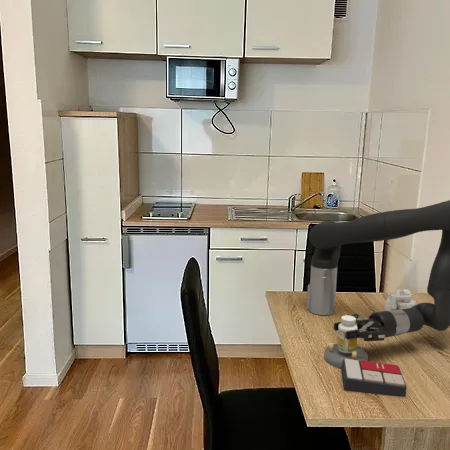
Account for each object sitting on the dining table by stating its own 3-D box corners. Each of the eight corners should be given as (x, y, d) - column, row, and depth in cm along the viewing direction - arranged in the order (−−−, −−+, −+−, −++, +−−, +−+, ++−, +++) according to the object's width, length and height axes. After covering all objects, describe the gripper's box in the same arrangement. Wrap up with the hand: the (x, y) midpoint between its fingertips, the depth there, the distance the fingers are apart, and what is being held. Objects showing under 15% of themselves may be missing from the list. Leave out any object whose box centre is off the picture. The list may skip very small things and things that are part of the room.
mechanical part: (415, 332, 155) (418, 298, 153) (379, 323, 162) (382, 290, 160) (424, 321, 164) (428, 289, 161) (390, 313, 171) (392, 282, 169)
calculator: (407, 385, 117) (345, 376, 119) (405, 400, 118) (343, 391, 120) (399, 363, 127) (342, 355, 130) (397, 378, 128) (341, 370, 131)
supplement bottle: (356, 346, 137) (359, 315, 135) (355, 355, 132) (357, 322, 130) (338, 344, 139) (339, 313, 137) (336, 352, 134) (337, 320, 132)
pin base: (316, 358, 136) (317, 344, 135) (339, 346, 144) (340, 332, 144) (353, 374, 128) (354, 359, 127) (375, 360, 136) (376, 345, 135)
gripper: (375, 302, 145) (327, 309, 139) (407, 320, 132) (355, 329, 126) (373, 325, 146) (325, 333, 141) (405, 345, 133) (354, 354, 128)
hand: (340, 331), depth 133 cm, fingers closed on supplement bottle, 5 cm apart
